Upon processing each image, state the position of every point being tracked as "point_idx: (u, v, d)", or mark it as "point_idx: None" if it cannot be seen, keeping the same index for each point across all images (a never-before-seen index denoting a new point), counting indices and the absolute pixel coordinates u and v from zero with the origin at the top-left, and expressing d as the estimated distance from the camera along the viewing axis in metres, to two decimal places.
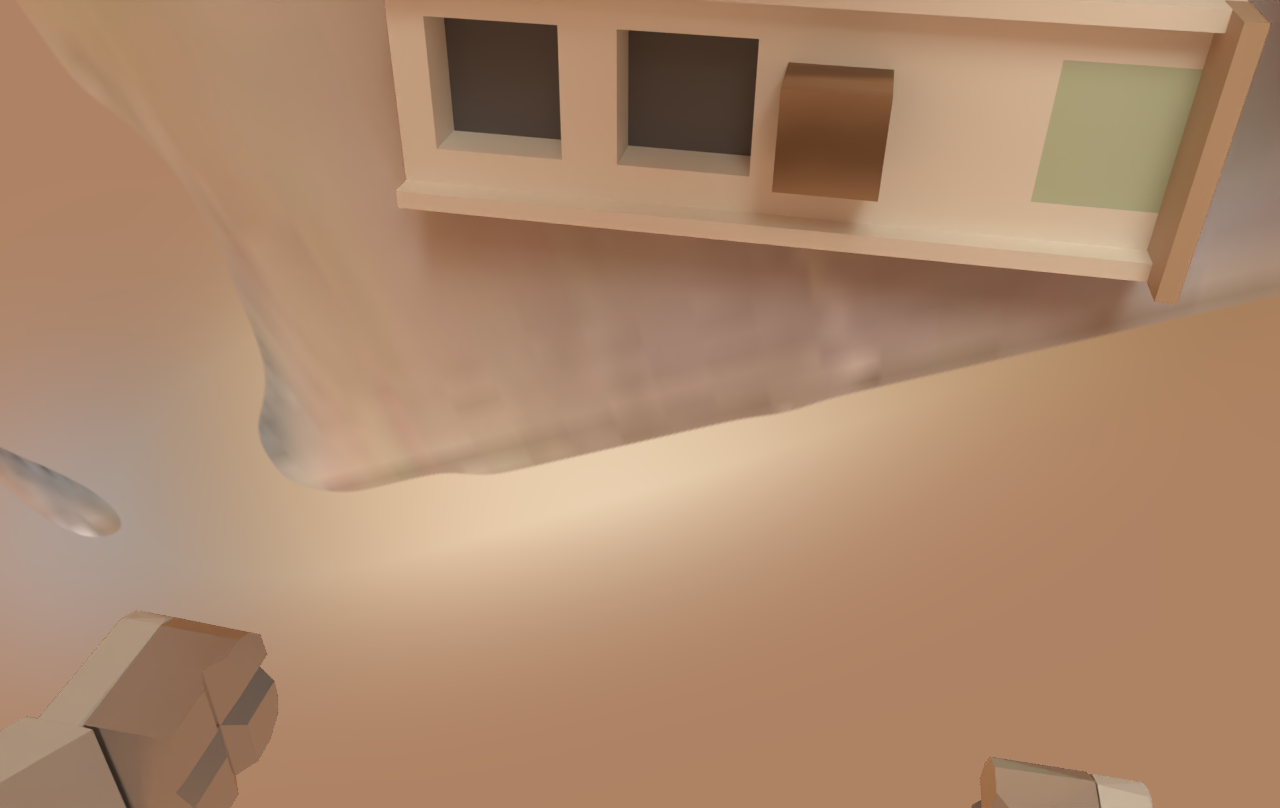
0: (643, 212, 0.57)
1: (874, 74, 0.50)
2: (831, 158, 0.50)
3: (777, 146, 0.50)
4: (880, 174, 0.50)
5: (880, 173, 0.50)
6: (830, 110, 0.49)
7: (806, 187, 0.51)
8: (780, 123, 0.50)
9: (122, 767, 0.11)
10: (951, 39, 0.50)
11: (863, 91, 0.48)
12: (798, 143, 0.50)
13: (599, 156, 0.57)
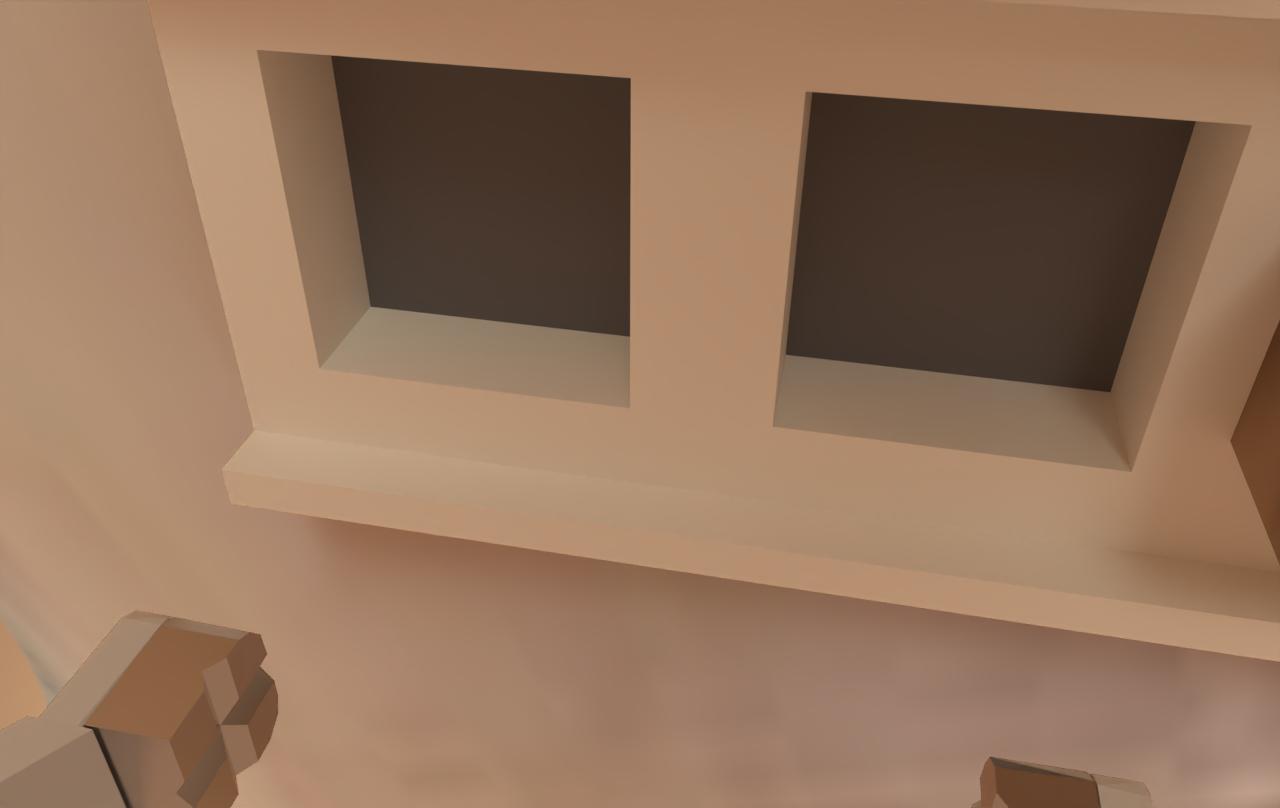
0: (840, 549, 0.22)
1: None
2: None
3: None
4: None
5: None
6: None
7: None
8: None
9: (122, 767, 0.11)
10: None
11: None
12: None
13: (728, 406, 0.22)
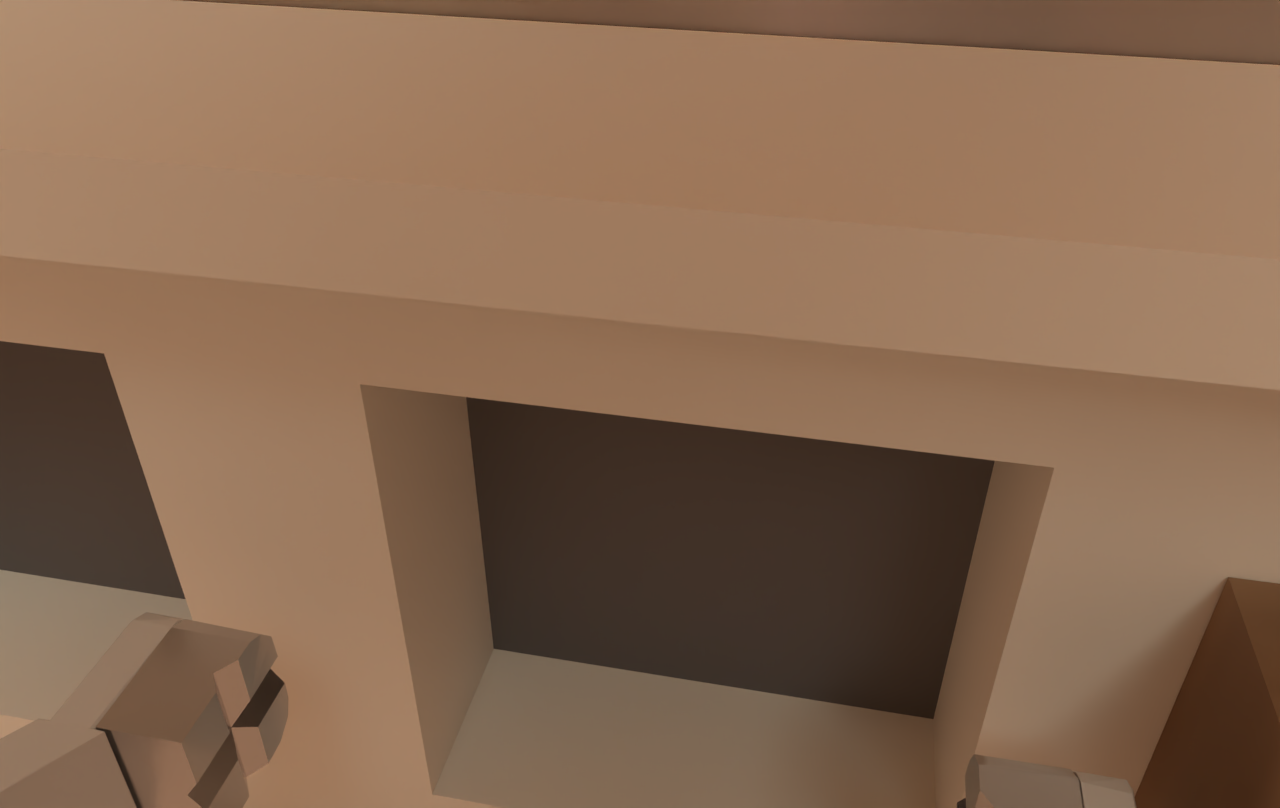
0: None
1: None
2: None
3: None
4: None
5: None
6: None
7: None
8: None
9: (134, 769, 0.11)
10: None
11: None
12: None
13: (366, 766, 0.15)
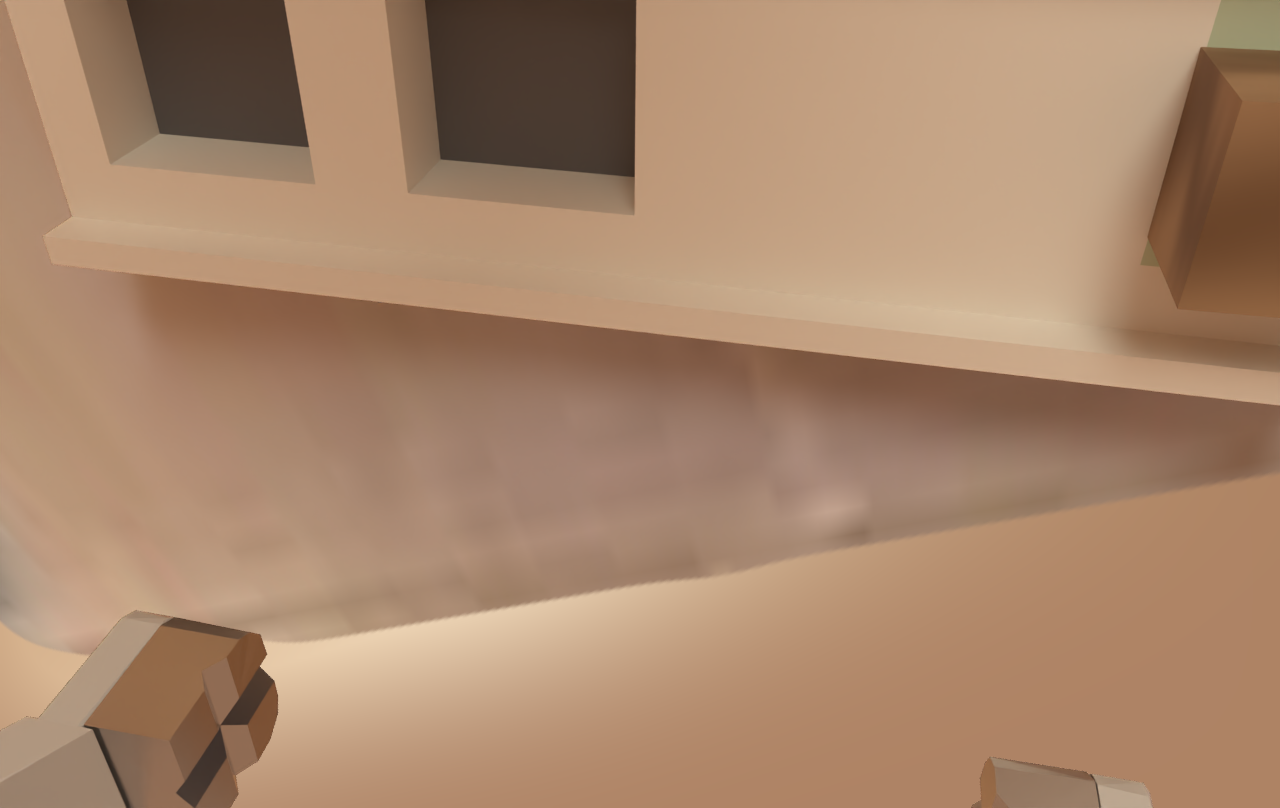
0: (452, 276, 0.32)
1: None
2: None
3: (1209, 220, 0.24)
4: None
5: None
6: None
7: (1254, 302, 0.25)
8: (1226, 173, 0.24)
9: (122, 767, 0.11)
10: None
11: None
12: (1258, 215, 0.24)
13: (377, 179, 0.32)
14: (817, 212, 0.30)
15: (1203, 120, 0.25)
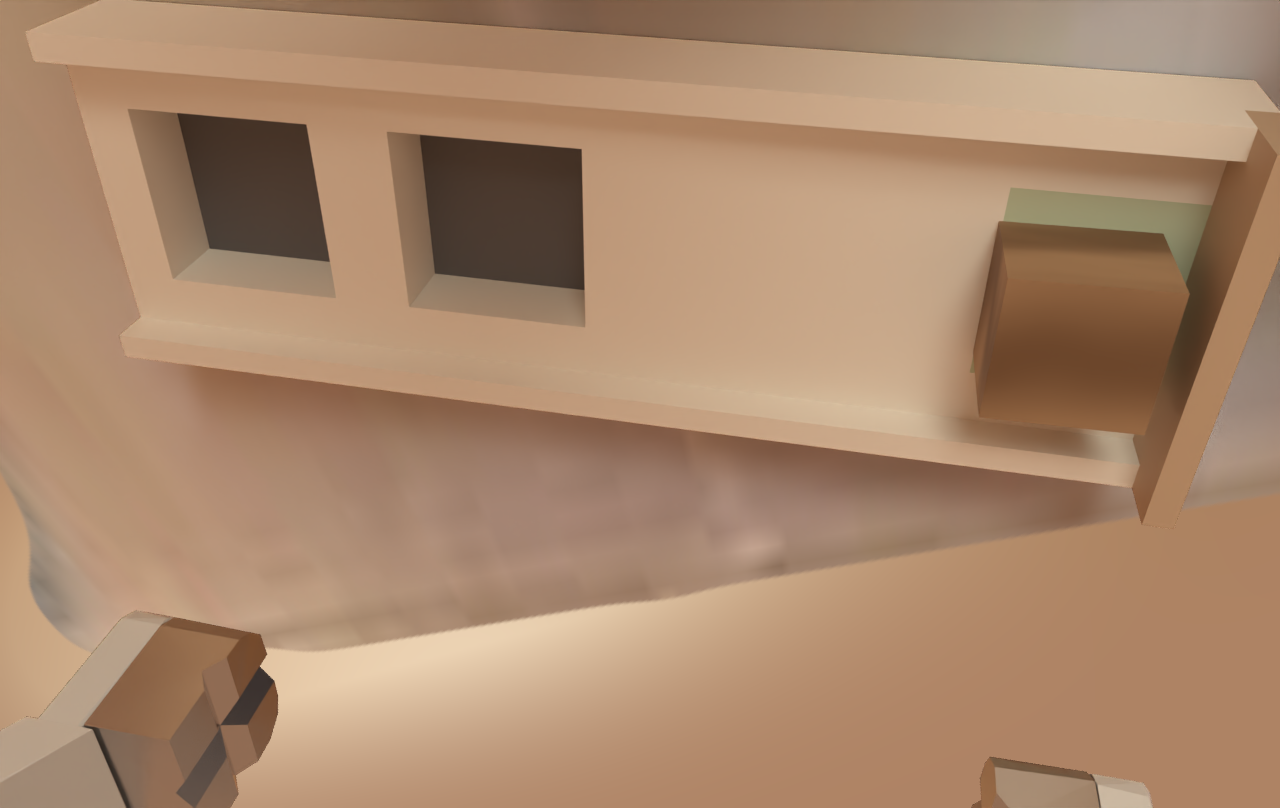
0: (444, 372, 0.41)
1: (1138, 244, 0.33)
2: (1077, 375, 0.33)
3: (994, 357, 0.33)
4: (1153, 399, 0.33)
5: (1154, 397, 0.33)
6: (1085, 310, 0.32)
7: (1033, 413, 0.34)
8: (1002, 326, 0.32)
9: (122, 767, 0.11)
10: (849, 155, 0.35)
11: (1138, 281, 0.31)
12: (1028, 354, 0.33)
13: (384, 295, 0.41)
14: (725, 328, 0.39)
15: (995, 280, 0.34)
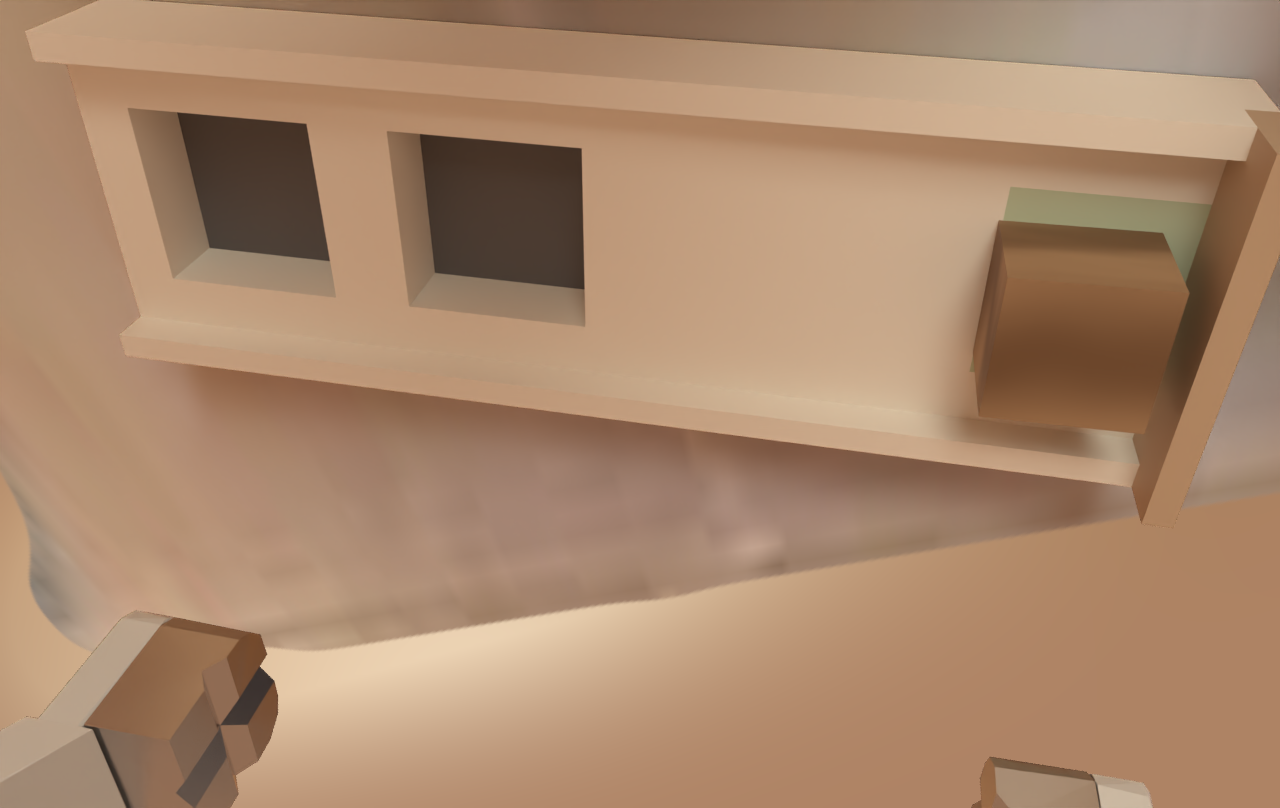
0: (444, 371, 0.41)
1: (1137, 243, 0.33)
2: (1077, 374, 0.33)
3: (993, 356, 0.33)
4: (1153, 398, 0.33)
5: (1153, 397, 0.33)
6: (1085, 309, 0.32)
7: (1032, 413, 0.34)
8: (1002, 325, 0.32)
9: (122, 767, 0.11)
10: (849, 155, 0.35)
11: (1137, 280, 0.31)
12: (1028, 353, 0.33)
13: (384, 295, 0.41)
14: (725, 328, 0.39)
15: (995, 279, 0.34)
